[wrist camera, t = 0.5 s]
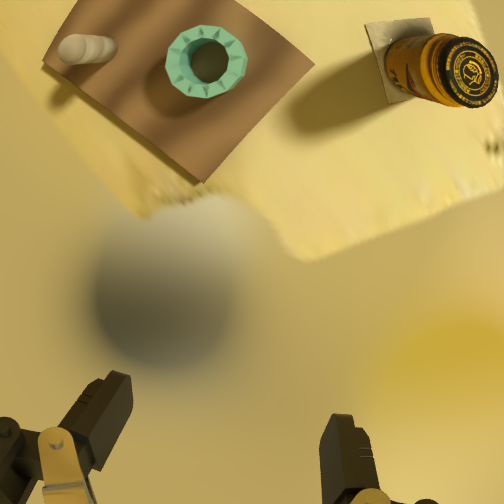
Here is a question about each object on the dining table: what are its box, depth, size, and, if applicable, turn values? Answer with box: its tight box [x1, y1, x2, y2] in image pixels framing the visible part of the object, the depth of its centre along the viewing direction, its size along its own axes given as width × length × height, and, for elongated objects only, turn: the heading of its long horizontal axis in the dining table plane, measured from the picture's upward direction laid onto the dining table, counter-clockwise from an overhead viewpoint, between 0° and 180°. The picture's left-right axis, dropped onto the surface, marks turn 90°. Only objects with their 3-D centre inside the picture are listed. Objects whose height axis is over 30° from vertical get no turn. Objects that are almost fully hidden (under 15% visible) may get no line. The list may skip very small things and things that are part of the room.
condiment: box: [365, 18, 499, 108], centre depth 20 cm, size 7×8×12 cm
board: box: [42, 0, 315, 184], centre depth 22 cm, size 24×16×9 cm, turn 49°
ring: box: [165, 25, 248, 98], centre depth 24 cm, size 6×6×4 cm
